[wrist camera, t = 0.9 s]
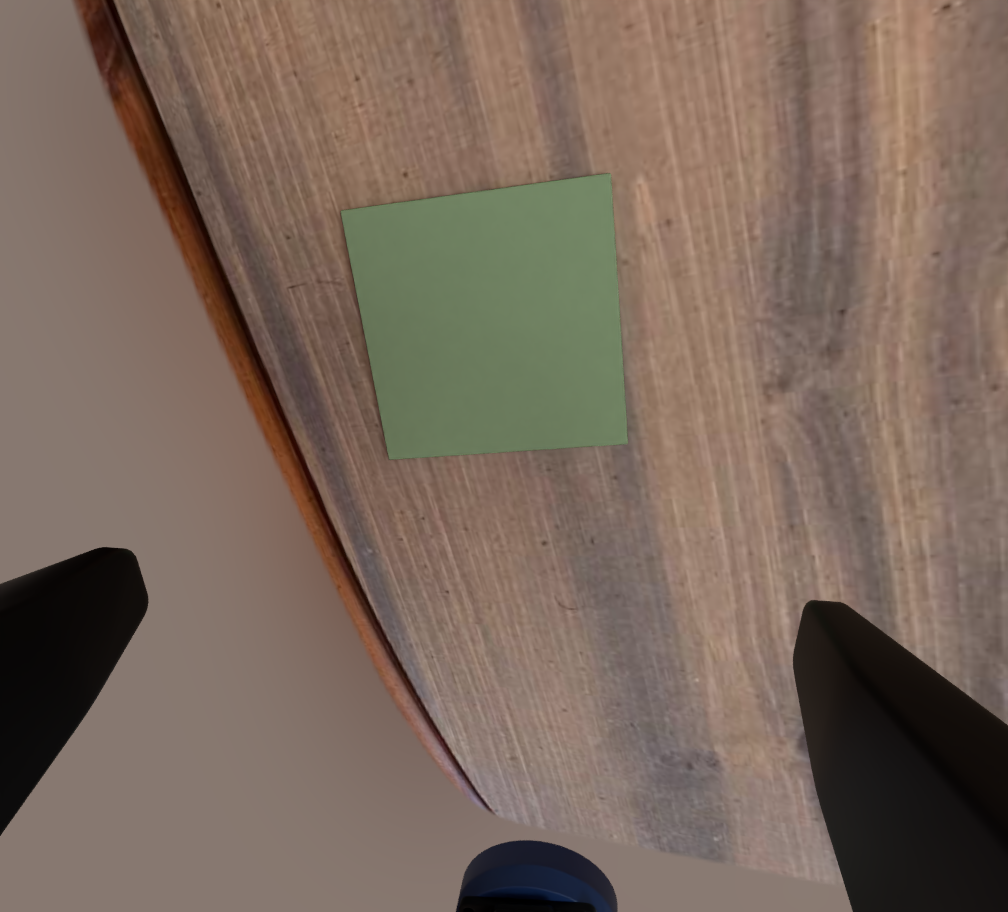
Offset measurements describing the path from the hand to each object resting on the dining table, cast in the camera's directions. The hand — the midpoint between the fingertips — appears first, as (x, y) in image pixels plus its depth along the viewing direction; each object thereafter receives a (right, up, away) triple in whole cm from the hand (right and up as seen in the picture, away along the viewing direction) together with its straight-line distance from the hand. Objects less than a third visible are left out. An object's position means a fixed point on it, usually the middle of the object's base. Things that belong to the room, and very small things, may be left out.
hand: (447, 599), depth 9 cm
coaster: (0, +6, +12) cm, 13 cm away
